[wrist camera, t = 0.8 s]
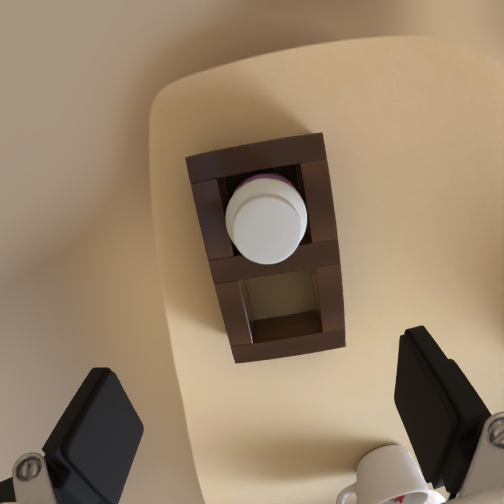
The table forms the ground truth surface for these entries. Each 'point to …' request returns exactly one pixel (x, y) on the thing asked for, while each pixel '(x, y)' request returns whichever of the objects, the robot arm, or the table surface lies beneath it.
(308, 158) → the rack
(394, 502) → the cup
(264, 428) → the table surface
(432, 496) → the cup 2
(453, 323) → the table surface
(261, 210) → the pill bottle
